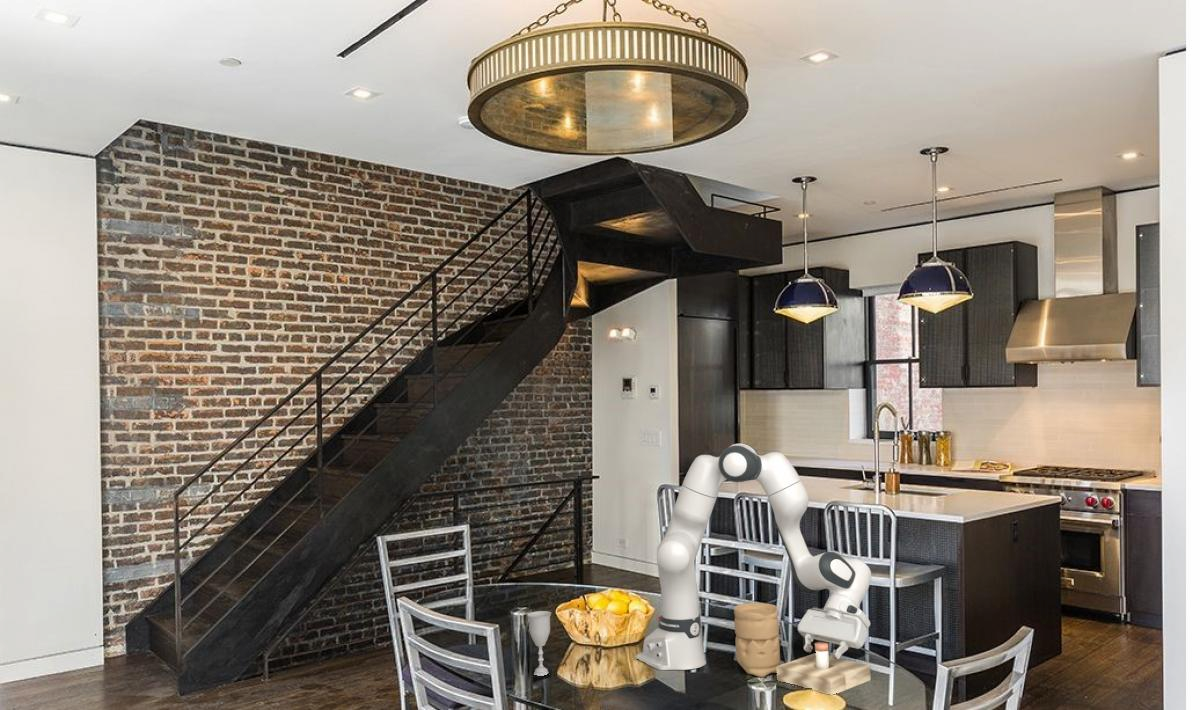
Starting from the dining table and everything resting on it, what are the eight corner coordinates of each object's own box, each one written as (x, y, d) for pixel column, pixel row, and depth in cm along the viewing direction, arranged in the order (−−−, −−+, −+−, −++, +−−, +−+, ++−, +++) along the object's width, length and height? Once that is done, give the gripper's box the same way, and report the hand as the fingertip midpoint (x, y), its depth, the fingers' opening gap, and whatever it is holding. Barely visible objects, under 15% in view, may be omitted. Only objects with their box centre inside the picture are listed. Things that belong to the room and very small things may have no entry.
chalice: (543, 671, 266) (541, 610, 267) (558, 675, 261) (556, 613, 262) (524, 677, 261) (522, 614, 262) (539, 681, 256) (537, 618, 257)
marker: (813, 680, 248) (812, 644, 249) (821, 677, 250) (820, 641, 251) (824, 683, 245) (823, 646, 246) (832, 680, 248) (830, 643, 248)
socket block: (777, 681, 249) (776, 666, 249) (816, 666, 260) (815, 652, 261) (831, 695, 235) (830, 680, 235) (870, 680, 247) (869, 665, 247)
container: (789, 669, 259) (786, 606, 260) (764, 680, 250) (761, 614, 251) (753, 661, 268) (750, 600, 269) (727, 671, 259) (725, 608, 260)
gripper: (804, 599, 261) (785, 640, 254) (865, 610, 246) (846, 654, 239) (815, 612, 264) (795, 653, 257) (875, 624, 248) (857, 667, 241)
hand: (820, 654), depth 248 cm, fingers open, 8 cm apart
